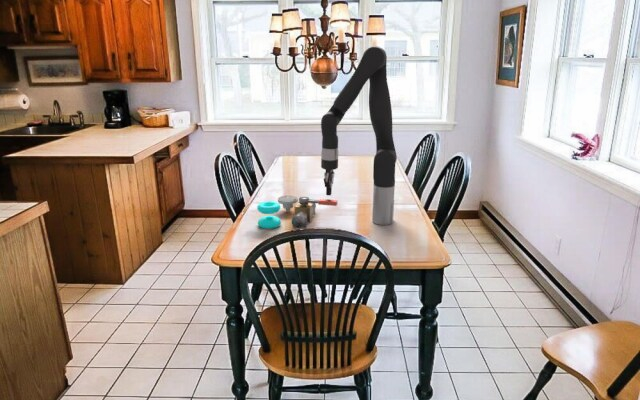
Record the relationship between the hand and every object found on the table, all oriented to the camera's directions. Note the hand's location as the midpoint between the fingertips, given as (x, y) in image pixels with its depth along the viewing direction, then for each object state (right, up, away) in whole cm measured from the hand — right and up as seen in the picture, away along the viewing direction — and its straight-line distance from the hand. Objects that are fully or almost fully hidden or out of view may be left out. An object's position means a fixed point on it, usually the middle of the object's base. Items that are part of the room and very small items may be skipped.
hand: (328, 194), depth 213 cm
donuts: (-26, -14, -6) cm, 30 cm away
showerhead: (-19, -8, +11) cm, 23 cm away
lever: (-5, -4, -3) cm, 7 cm away
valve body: (-11, -11, 0) cm, 16 cm away
